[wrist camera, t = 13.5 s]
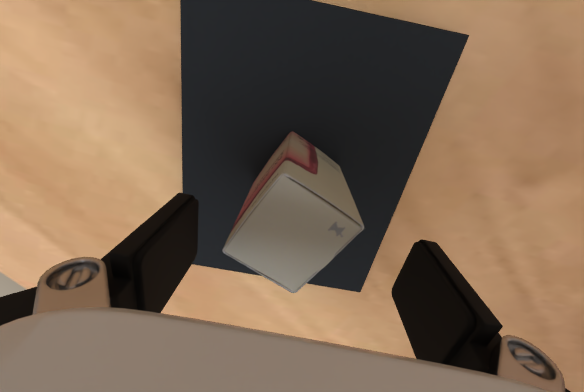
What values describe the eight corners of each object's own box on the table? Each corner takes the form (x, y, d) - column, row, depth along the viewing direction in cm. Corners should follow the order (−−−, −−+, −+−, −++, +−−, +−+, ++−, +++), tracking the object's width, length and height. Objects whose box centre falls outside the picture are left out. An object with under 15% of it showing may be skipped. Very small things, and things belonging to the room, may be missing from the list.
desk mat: (465, 36, 14) (469, 35, 14) (359, 289, 23) (360, 292, 22) (183, -26, 13) (179, -30, 13) (185, 259, 22) (183, 262, 22)
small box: (291, 128, 16) (283, 167, 9) (341, 165, 17) (368, 228, 10) (250, 184, 18) (216, 253, 11) (297, 215, 19) (294, 297, 12)
